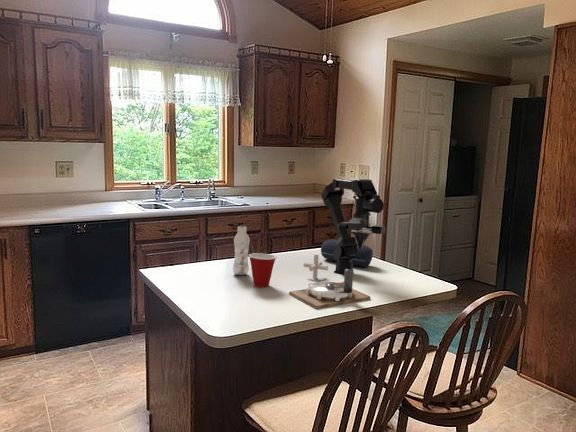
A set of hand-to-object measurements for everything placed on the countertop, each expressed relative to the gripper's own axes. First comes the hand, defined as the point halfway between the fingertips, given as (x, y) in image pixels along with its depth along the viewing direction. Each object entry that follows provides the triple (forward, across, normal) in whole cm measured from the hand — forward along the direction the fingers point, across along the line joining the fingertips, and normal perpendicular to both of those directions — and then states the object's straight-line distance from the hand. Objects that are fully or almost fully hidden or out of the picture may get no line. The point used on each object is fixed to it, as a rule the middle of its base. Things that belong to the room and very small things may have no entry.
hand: (360, 248), depth 195 cm
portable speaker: (+12, -17, +23) cm, 31 cm away
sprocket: (+13, 0, -26) cm, 29 cm away
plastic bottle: (+13, -42, -25) cm, 50 cm away
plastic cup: (+13, -27, -31) cm, 43 cm away
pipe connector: (+13, -16, -9) cm, 22 cm away
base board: (+14, 0, -26) cm, 30 cm away
